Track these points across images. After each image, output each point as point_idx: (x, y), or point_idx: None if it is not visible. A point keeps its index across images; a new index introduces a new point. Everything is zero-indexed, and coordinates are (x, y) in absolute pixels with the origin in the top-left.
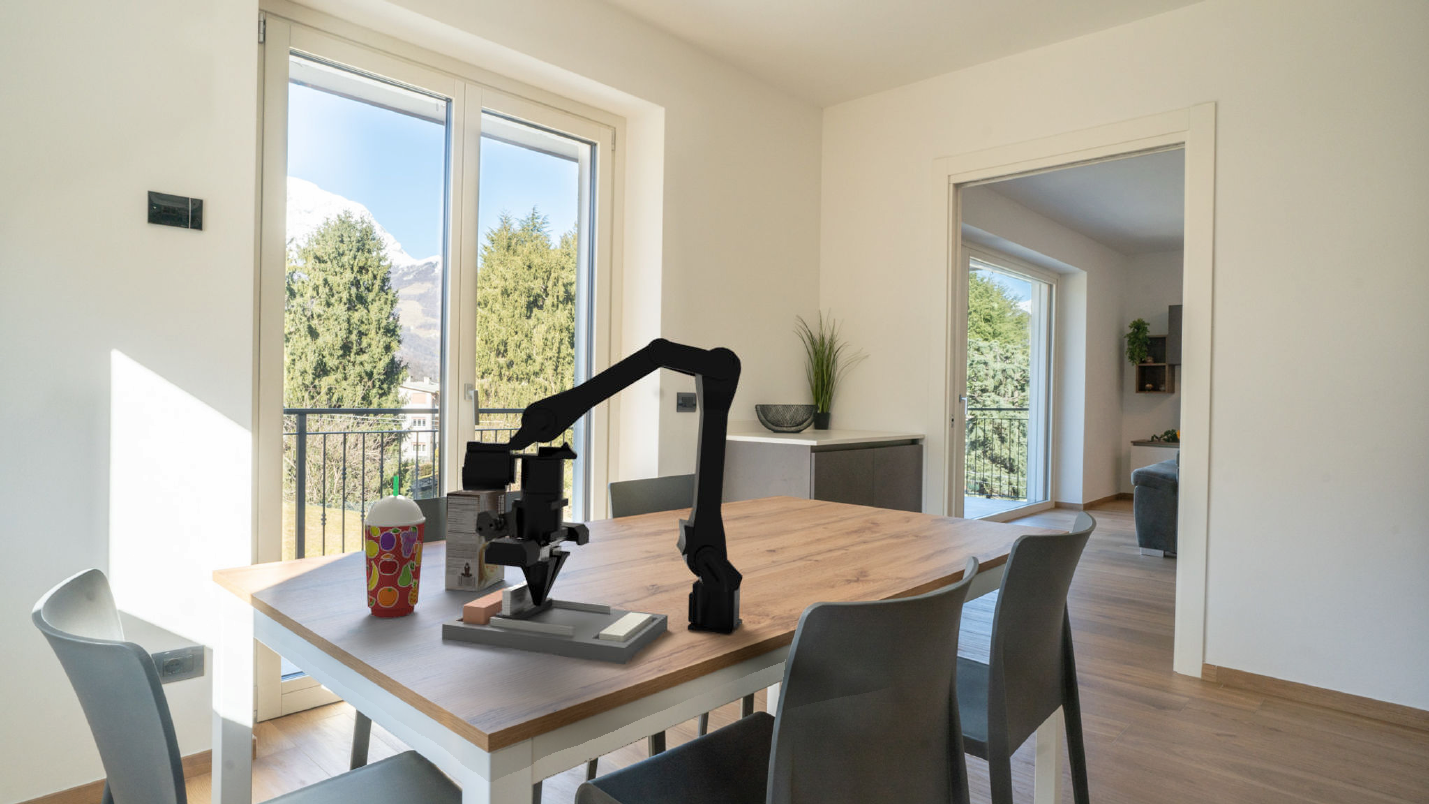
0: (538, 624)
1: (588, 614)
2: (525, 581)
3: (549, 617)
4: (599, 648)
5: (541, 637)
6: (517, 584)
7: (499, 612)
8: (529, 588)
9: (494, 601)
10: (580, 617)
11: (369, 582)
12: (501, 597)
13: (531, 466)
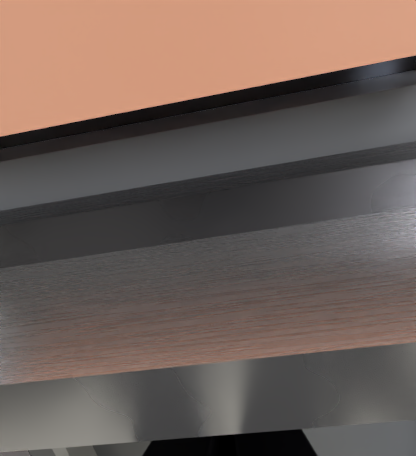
0: (53, 448)
1: (386, 452)
2: (259, 373)
3: None
4: None
5: (31, 453)
6: (97, 384)
7: (2, 227)
8: (151, 450)
9: (50, 92)
10: (328, 447)
11: None
12: (188, 43)
13: None
